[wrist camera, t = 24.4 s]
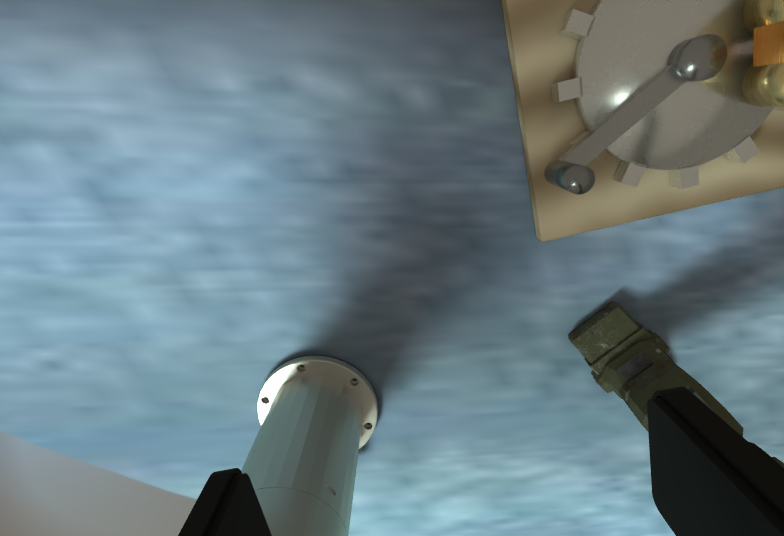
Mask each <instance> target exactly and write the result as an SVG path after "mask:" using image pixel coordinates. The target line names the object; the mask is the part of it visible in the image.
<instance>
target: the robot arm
mask: <svg viewBox="0 0 784 536" xmlns="http://www.w3.org/2000/svg"><path fill="white" fill-rule="evenodd" d="M354 378H356V379H354ZM257 413H258V418H259V422H260V424H261V428H260V430H259V432H258V434H257V436H256V439H255V441H254V443H253V445H252V448H251V450H250V452H249V454H248V457H247V459H246V461H245V463H244V466H243V468H242V470H240V469H238V468H234V469H228V470H223V471H217V472H214V473H212V474H211V475H210V477H209V479H208V481H207V482H206V484H205V486H204V488H203V490H202V492H201V494H200V496H199V497H198V499H197V501H196V503H195V505H194V507H193V509H192V511H191V513H190V514H189V516H188V518H187V520H186V522H185V524H184V526H183V528H182V529H181V531H180V533H179V535H178V536H348V534H349V525H350V517H351V509H352V501H353V492H354V484H355V476H356V468H357V459H358V451H359V449H360V448H361V447H363V446H364V445H365V444H366V443H367V441H368V440H369V439H370V438H371V436H372V434H373V432H374V430H375V427H376V423H377V418H378V403H377V398H376V395H375V392H374V390H373V388H372V386H371V384H370V383H369V381H368V380H367V379H366V378H365V377H364V375H363V374H362V373H360V372H359V371H358V370H357V369H355V368H354V367H353V366H351V365H349V364H347V363H345V362H343V361H341V360H338V359H335V358H331V357H326V356H304V357H299V358H295V359H293V360H290V361H287V362H286V363H284V364H282V365H280V366H279V367H277V368H276V369H275V370H274V371H273V372H272V373H271V374H270V375H269V377H268V378H267V379H266V381H265V382H264V384H263V386H262V388H261V390H260V393H259V396H258V401H257ZM647 413H648V430H649V447H650V464H651V481H652V494H653V499H654V502H655V504H656V506H657V508H658V510H659V512H660V513H661V515H662V516H663V518H664V519H665V521H666V522H667V523H668V525H669V526H670V528H671V529H672V531H673V532H674V533H675V535H676V536H784V468H783V467H782V466H781V465H780V464H778V463H777V462H776V461H775V460H774V459H773V458H771V457H770V456H769V455H768V454H767V453H766V452H764V451H763V450H762V449H761V448H759V447H758V446H757V445H755V444H754V443H751V442H748V441H746V440H745V439H744V438H743V437H742V436H741V435H740V434H738V433H737V432H736V431H735V430H734V429H733V428H732V427H730V426H729V425H728V424H727V423H726V422H725V421H724V420H722V419H721V418H720V417H719V416H718V415H717V414H716V413H714V412H713V411H712V410H711V409H710V408H709V407H708V406H706V405H705V404H704V403H703V402H702V401H701V400H700V399H698V398H697V397H696V396H695V395H694V394H693V393H692V392H690V391H689V390H688V389H687V388H685V387H682V386H680V387H675V388H670V389H664V390H659V391H656V392H655V393H654V395H653V399H649V400H648V401H647Z"/></svg>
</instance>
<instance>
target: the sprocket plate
mask: <svg viewBox="0 0 784 536" xmlns="http://www.w3.org/2000/svg"><path fill="white" fill-rule="evenodd" d="M596 2H597V0H502V7H503V14H504V21H505V27H506V34H507V41H508V48H509V54H510V61H511V68H512V75H513V81H514V88H515V95H516V102H517V108H518V115H519V122H520V129H521V135H522V142H523V149H524V156H525V162H526V169H527V176H528V183H529V189H530V196H531V203H532V210H533V216H534V223H535V230H536V237H537V239H539V240H540V241H541V242H544V241H549V240H553V239H557V238H562V237H566V236H571V235H575V234H579V233H584V232H588V231H593V230H597V229H601V228H606V227H610V226H615V225H619V224H623V223H628V222H632V221H636V220H641V219H645V218H650V217H654V216H658V215H663V214H667V213H672V212H676V211H680V210H685V209H689V208H694V207H698V206H702V205H707V204H711V203H716V202H720V201H724V200H729V199H733V198H738V197H742V196H746V195H751V194H755V193H760V192H764V191H768V190H773V189H777V188H781V187H784V111H779V110H776V109H773V110H772V112H771V113H770V114H769V115H768V117H767V118H766V119H765V121H764V122H763V123H762V124H761V125H760V126H759V127H758V128H757V129H756V130H755V131H754V132H753V133H752V134H751V135H750V137H751V139H752V140H753V142H754V143H755V145H756V146H757V148H758V149H759V151H760V152H759V153H757V154H756V155H755V156H754V157H752V158H751V159H750V160H748V161H747V162H746V163H744V164H741V163H733V162H730V161H729V159H728V158H727V156H726V155H725V154H723V155H721V156H720V157H718V158H716V159H713V160H711V161H709V162H706V163H704V164H700V165H699V185H697V186H693V187H688V188H684V189H679V188H675V187H671V186H670V170H658V169H649V168H646V169H645V171H644V173H643V175H642V178H641V180H640V182H639V184H638V186H637V187H634V186H630V185H627V184H624V183H621V182H618V181H615V180H613V178H614V176H615V174H616V172H617V169H618V167H619V165H620V163H621V160H618V159H617V158H615V157H613V156H612V155H610V154H608V153H607V152H606V151H603V152H601V153H600V154H599V155H598V156H597V157H595V158H594V159H593V160H592V161H591V162H589V163H588V164H587V165H586V166H587V167H589V168H591V169H592V170H593V172H594V174H595V183H594V185H593V187H592V188H591V190H589V191H588V192H587V193H584V194H581V195H577V194H574V193H571V192H569V191H567V190H564V189H562V188H560V187H557V186H555V185H553V184H550V183H549V182H548V181H547V180H546V179H545V176H544V171H545V168H546V166H547V165H548V164H549V163H550V162H551V161H553V160H557V159H558V158H559V157H561V156H562V155H563V154H564V153H565V152H566V151H568V150H569V149H570V148H571V145H570V143H571V142H572V141H573V140H574V139H575V138H577V137H578V136H579V135H580V134H581V133H582V132H583V131H585V130H586V129H585V127H584V126H583V124H582V121H581V119H580V117H579V115H578V112H577V108H576V105H575V102H574V98H573V99H569V100H565V101H561V102H553V97H552V87H551V84H554V83H558V82H562V81H566V80H570V79H572V68H573V59H574V54H575V49H576V45H577V42H578V40H576V39H573V38H570V37H568V36H565V35H562V34H559V33H558V32H559V30H560V27H561V25H562V22H563V19H564V17H565V14H566V13H567V12H569V11H570V10H572V9H575V10H578V11H581V12H583V13H586V14H589V13H590V12H591V10H592V8H593V7H594V5H595V3H596Z"/></svg>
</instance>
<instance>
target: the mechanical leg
mask: <svg viewBox="0 0 784 536" xmlns="http://www.w3.org/2000/svg"><path fill="white" fill-rule="evenodd" d="M568 338H569V339H570V341H571V342H572V344H573V345H574V346H575V347H576V348H577V349H578V350H579V351H580V352H581V354H582V355H583V356H584V357H585V360H586V362H587V363H588V365H589V366H590V367H591V368H592V369H593V371H592V372H591V373H592V375H593V376H594V379H595V380H596V382H597V383H598V384H599V385H600V386H601V387H602V388H603V389H604V390H605V391H606V392H607V393H608V392H611V391H614V392H615V393H616V394H617V395H618V396H619V397H620V398H621V399H623V400H624V401H625V402H626V404H627V405H628V407H629V408H630V409H631V411H632V412H633V413H634V415H635V416H636V417H637V419H638V420H639V421H640V423H641V424H642V425H643V426H644V428H645V429H646V430H647V431H648V432H649V430H648V413H647V401H648V400H649V399H653V395H654V393H655V392H656V391H659V390H664V389H670V388H675V387H680V386H682V387H685V388H687V389H688V390H689V391H690V392H692V393H693V394H694V395H695V396H696V397H697V398H698V399H700V400H701V401H702V402H703V403H704V404H705V405H706V406H708V407H709V408H710V409H711V410H712V411H713V412H714V413H716V414H717V415H718V416H719V417H720V418H721V419H722V420H724V421H725V422H726V423H727V424H728V425H729V426H730V427H732V428H733V429H734V430H735V431H736V432H737V433H738V434H740V435H741V436H742V437H743V427H742V426H741V425H740V424H739V423H738V422H737V421H736V420H735V418H734V417H733V416H732V415H731V414H730V413H729V412H728V411H727V410H726V409H725V408H724V407H723V406H722V405H721V404H720V403H719V402H718V401H717V400H716V399H715V398H714V397H713V396H712V395H711V394H710V393H709V392H708V391H707V390H706V389H705V388H704V387H703V386H702V385H701V384H700V383H698V382H697V381H696V380H695V379H694V378H692V377H691V376H690V375H689V374H688V373H686V372H685V371H684V370H683V369H681V368H680V367H679V366H677V365H676V364H675V363H674V362H673V361H672V359H671V358H670V357H669V356H668V355H667V354H666V353H667V351H668V350H669V347H668V346H667V345H666V343H665V342H664V341H663V340H662V339H661V338H660V337H659V336H658V335H657V334H655V333H652V332H651V331H650V330H648V331H647V330H646V329H645V328H644V327H643V326H641V325H640V324H638V323H637V322H636V321H634V320H633V319H632V318H631V317H630V316H629V315H628V314H627V313H626V312H625V311H624V310H623V308H622V307H621V306H619V305H618V304H617V303H615V302H611V303H609V304H608V305H607V306H606V307H605V308H604V309H602V310H600V311H599V312H598V313H596V314H595V315H594V316H592V317H591V318H590V319H588V320H587V321H586V322H585V323H583V324H582V325H581V326H579V327H578V328H577V329H576V330H575V331H573V332H571V333H570V334H569V335H568ZM771 458H773V459H774V460H775V461H776V462H777V463H778V464H780V465H781V466H782V467H783V468H784V463H783V462H781V461H780V460H778V459H777V458H776V457H771Z"/></svg>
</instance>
